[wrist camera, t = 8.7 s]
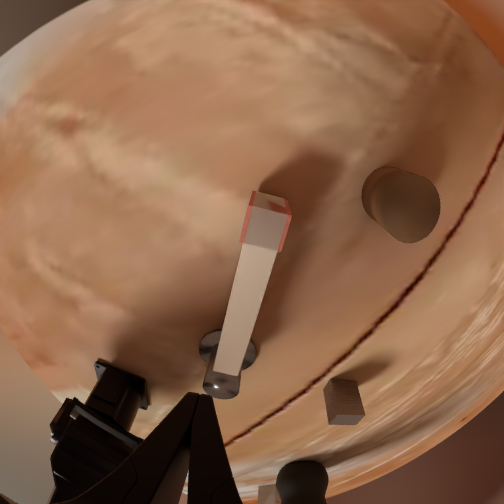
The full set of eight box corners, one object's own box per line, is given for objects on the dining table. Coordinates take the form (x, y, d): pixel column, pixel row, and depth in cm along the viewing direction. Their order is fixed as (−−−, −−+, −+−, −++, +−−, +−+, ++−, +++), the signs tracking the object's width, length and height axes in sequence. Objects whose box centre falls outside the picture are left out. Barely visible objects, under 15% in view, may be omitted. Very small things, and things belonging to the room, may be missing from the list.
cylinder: (400, 229, 18) (425, 250, 14) (354, 213, 18) (374, 232, 14) (417, 178, 16) (448, 189, 13) (371, 158, 16) (396, 164, 12)
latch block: (348, 391, 25) (356, 424, 21) (323, 389, 25) (328, 424, 21) (356, 381, 24) (365, 415, 20) (330, 378, 24) (337, 414, 20)
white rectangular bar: (244, 341, 22) (240, 376, 18) (218, 335, 22) (210, 370, 18) (286, 199, 17) (292, 216, 13) (252, 190, 17) (248, 205, 13)
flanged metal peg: (249, 373, 24) (245, 411, 20) (197, 361, 24) (186, 398, 20) (262, 336, 22) (260, 376, 18) (203, 322, 22) (191, 360, 18)
